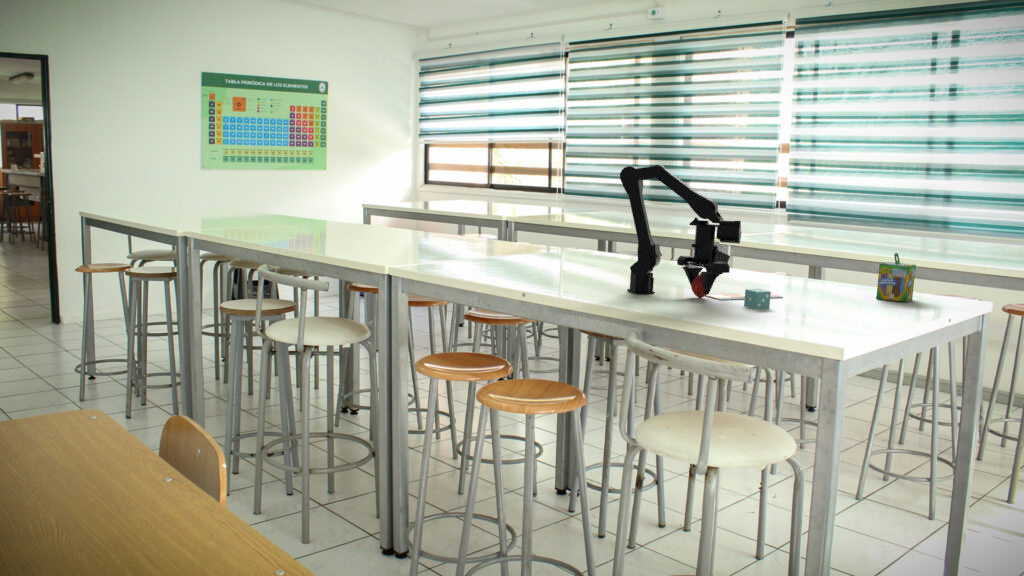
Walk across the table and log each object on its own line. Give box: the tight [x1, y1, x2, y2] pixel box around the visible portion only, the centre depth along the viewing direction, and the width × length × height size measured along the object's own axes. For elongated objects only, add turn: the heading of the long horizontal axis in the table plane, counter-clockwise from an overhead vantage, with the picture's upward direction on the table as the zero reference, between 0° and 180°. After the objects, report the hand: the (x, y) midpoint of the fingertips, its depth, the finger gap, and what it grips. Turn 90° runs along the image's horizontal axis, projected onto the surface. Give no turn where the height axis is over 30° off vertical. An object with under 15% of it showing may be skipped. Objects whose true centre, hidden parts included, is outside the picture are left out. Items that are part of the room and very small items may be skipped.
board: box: [704, 292, 784, 301], centre depth 247 cm, size 24×9×1 cm, turn 113°
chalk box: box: [875, 252, 917, 303], centre depth 252 cm, size 9×9×15 cm
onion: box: [690, 271, 707, 299], centre depth 240 cm, size 6×6×8 cm
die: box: [743, 288, 772, 310], centre depth 229 cm, size 5×5×5 cm
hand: (700, 292), depth 240 cm, fingers closed on onion, 6 cm apart
